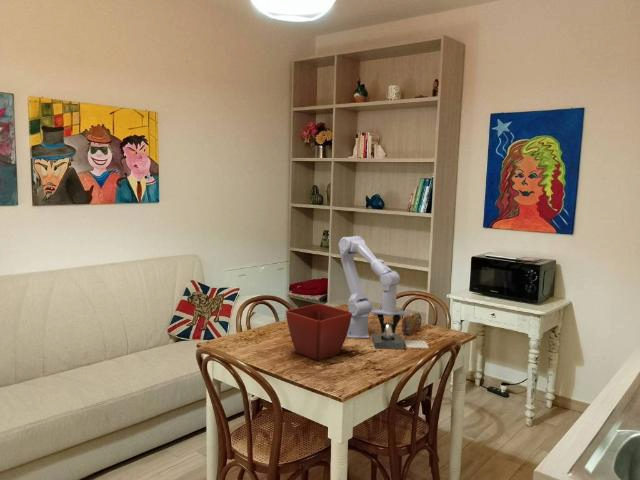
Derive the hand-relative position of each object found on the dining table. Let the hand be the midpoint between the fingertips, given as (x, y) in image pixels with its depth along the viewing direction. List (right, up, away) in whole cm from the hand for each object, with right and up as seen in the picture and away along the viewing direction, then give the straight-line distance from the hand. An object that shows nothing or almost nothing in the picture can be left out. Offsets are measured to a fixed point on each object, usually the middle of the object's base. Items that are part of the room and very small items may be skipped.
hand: (387, 332), depth 216 cm
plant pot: (-29, -6, -12) cm, 32 cm away
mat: (+12, -5, +1) cm, 13 cm away
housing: (0, -5, +1) cm, 5 cm away
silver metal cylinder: (0, -4, 0) cm, 4 cm away
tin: (+13, -3, +19) cm, 23 cm away
